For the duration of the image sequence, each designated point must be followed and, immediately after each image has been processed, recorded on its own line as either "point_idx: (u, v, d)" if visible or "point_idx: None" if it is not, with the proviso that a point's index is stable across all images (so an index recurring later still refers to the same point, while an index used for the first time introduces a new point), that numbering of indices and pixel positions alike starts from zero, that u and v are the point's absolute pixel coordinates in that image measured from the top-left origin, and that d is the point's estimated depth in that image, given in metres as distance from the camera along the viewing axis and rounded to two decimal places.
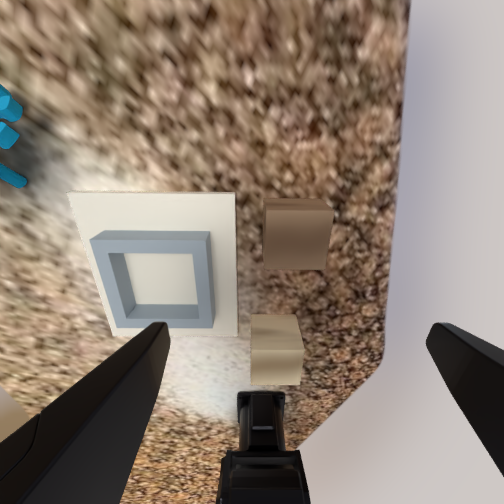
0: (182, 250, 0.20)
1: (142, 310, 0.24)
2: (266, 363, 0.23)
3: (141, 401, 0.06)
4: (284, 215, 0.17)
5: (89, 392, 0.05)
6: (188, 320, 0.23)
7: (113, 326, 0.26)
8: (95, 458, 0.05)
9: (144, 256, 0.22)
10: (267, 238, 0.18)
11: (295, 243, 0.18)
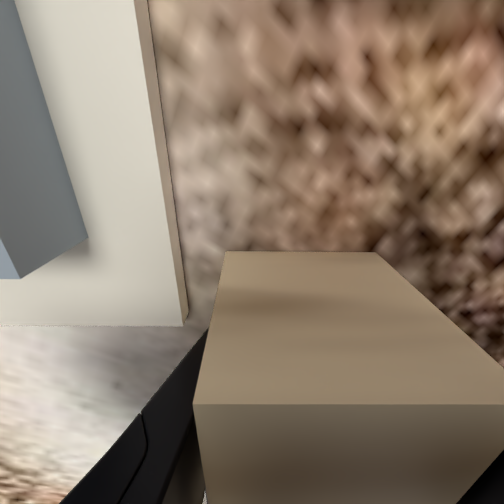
0: None
1: None
2: (288, 468, 0.04)
3: None
4: None
5: (182, 392, 0.05)
6: None
7: None
8: (194, 458, 0.05)
9: None
10: None
11: None
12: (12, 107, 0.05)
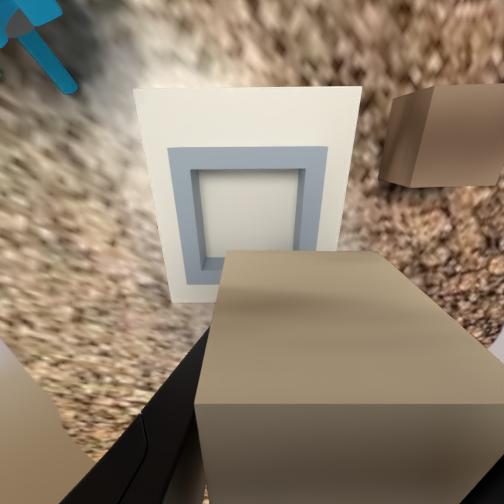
0: (293, 163, 0.14)
1: (218, 262, 0.18)
2: (290, 468, 0.04)
3: None
4: (459, 94, 0.12)
5: (182, 392, 0.05)
6: None
7: (173, 289, 0.20)
8: (194, 458, 0.05)
9: (226, 187, 0.17)
10: (425, 136, 0.13)
11: (464, 143, 0.13)
12: None
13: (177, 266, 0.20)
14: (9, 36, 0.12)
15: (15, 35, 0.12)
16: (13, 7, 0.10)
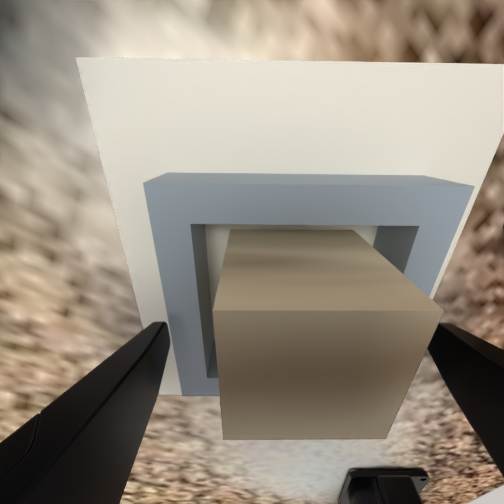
0: (396, 216, 0.07)
1: None
2: (277, 368, 0.06)
3: (141, 401, 0.06)
4: None
5: (89, 392, 0.05)
6: None
7: (162, 378, 0.13)
8: (95, 458, 0.05)
9: None
10: None
11: None
12: None
13: None
14: None
15: None
16: None
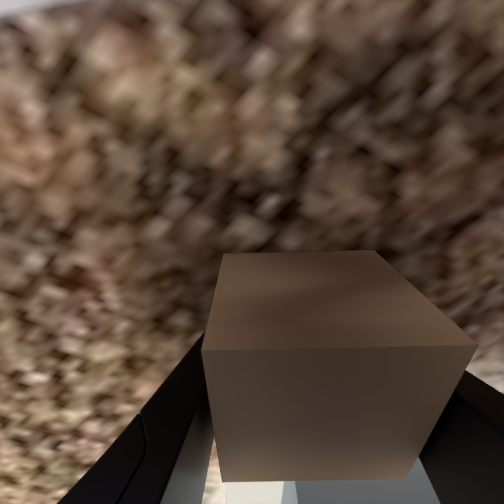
0: None
1: None
2: None
3: None
4: (233, 456, 0.06)
5: (181, 392, 0.05)
6: None
7: None
8: (192, 458, 0.05)
9: None
10: (306, 478, 0.06)
11: (331, 430, 0.05)
12: None
13: None
14: None
15: None
16: None
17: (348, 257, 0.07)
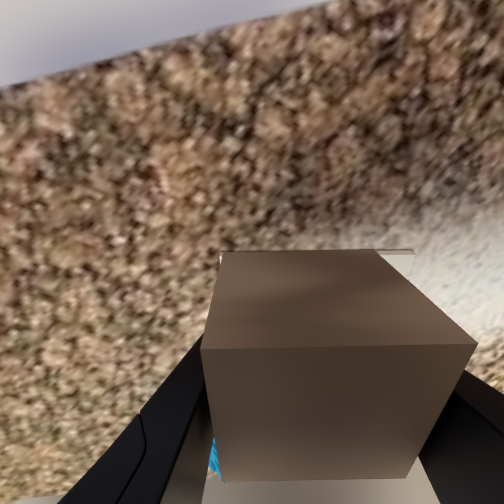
0: None
1: None
2: None
3: None
4: (232, 455, 0.06)
5: (181, 392, 0.05)
6: None
7: None
8: (192, 458, 0.05)
9: None
10: (305, 477, 0.06)
11: (330, 429, 0.05)
12: None
13: None
14: None
15: None
16: None
17: (348, 256, 0.07)
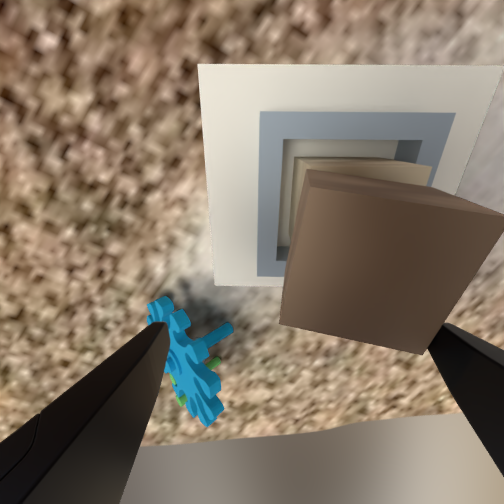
0: (276, 155, 0.12)
1: None
2: None
3: (141, 401, 0.06)
4: (296, 296, 0.08)
5: (89, 392, 0.05)
6: (418, 163, 0.12)
7: None
8: (95, 458, 0.05)
9: None
10: (343, 334, 0.08)
11: (377, 285, 0.07)
12: None
13: None
14: None
15: None
16: None
17: (410, 185, 0.09)
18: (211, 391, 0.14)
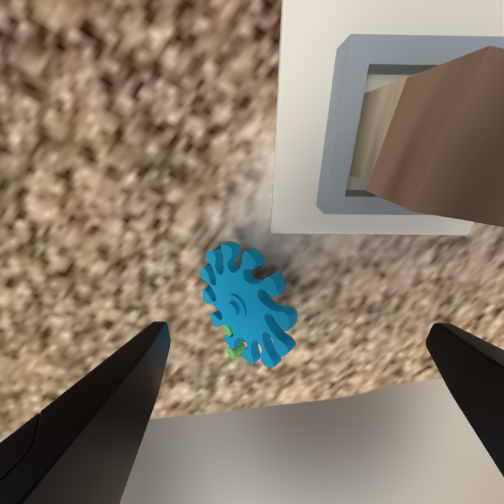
0: (360, 81, 0.13)
1: None
2: None
3: (141, 401, 0.06)
4: (439, 177, 0.08)
5: (89, 392, 0.05)
6: None
7: (452, 230, 0.19)
8: (95, 458, 0.05)
9: None
10: (468, 217, 0.09)
11: None
12: None
13: (427, 222, 0.19)
14: None
15: None
16: (266, 296, 0.16)
17: None
18: (289, 322, 0.15)
